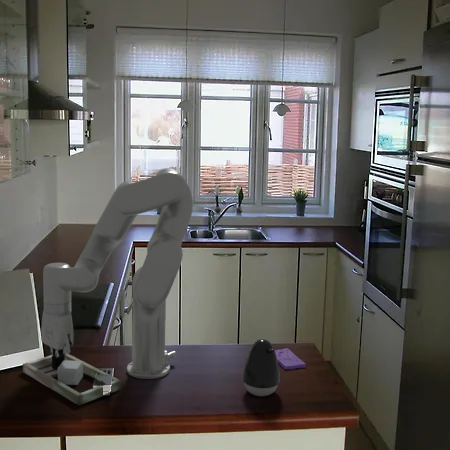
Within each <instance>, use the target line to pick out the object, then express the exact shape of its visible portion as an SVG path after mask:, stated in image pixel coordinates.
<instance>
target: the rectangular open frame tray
mask: <svg viewBox="0 0 450 450" xmlns="http://www.w3.org/2000/svg"><path fill="white" fill-rule="evenodd" d="M52 356H53V355H51V354H50V355H48V356H45V357H41V358H38V359H35V360H30V361H28V362H25V363H22V373H24V374H25V375H27V376H29V377H31V378H32V379H34V380H36V381H37V382H39V383H40V384H42V385H44V386H45V387H47V388H49V389H51V390H52V391H54V392H55V393H58V395H60V396H62V397H64V398H65V399H68V400H69V401H71V402H73V403H74V404H76V405H78V406H82V405H83V404H86V403H88V402H92V401H94V400H97V399H99V398H101V397H104V396H103V387H98V386H96V387H93V388H91V389H88V390H85V391H83V392H78V391H77V390H76V389H74V388H71V387H70V386H69V385H65V384H63V383H61V382H59V381H58V379H56V378H58V370H54V369H52ZM65 360H70V361H82V359H79V358H77V357H75V356H74V355H71V354H70V353H67V354H66V355H65ZM96 373H99V374H103V375H106V374H107V375H110V374H109V373H107V372H105V371H103V370H100V369H99V368H97V367H95V366H93V365H91V364H89V363H87V362H85V361H83V374H85V375H87V376H88V377H91V378H92V379H95V378H94V377H95V375H96ZM111 376H112V386H111V393H110V394H112V393H114V392H117V391H120V390H121V389H122V388H121V387H122V383H121V381H122V380H121V379H119V378H116V376H115V377H114V376H113V375H111Z"/></svg>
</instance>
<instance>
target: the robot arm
mask: <svg viewBox="0 0 450 450" xmlns="http://www.w3.org/2000/svg"><path fill="white" fill-rule="evenodd" d="M193 207H194V202H193V196H192V191H191V188H190V185H189V184H188V183H187V181H186V179H185V178H184V177H183V176H182V174H181V173H180V172H179V171H178V170H177V169H174V168H170V167H169V168H168V167H166V168H163V169H161V170H159V171H158V172H157V173H156V175H153V176H152V177H148V178H145V179H142V180H139V181H138V180H137V181H135V182H134V181H129V180H128V181H124V182H121V183H120V184H119V185H118V186H117V187H116V188H115V191H114V192H113V194H112V195H111V197H110V199H109V201H108V203H107V205H106V206H105V208H104V210H103V212H102V214H101V216H100V217H99V219H98V221H97V222H96V223H95V226H94V228H93V230H92V234H91V235H90V237H89V239H88V241H87V243H86V245H85V246H84V248H83V250H82V252H81V254H80V256H79V257H78V259H77V261H76V263H75V265H74V266H73V267H71V266H70V264H68V263H65V262H51V263H48V264H46V265H45V266H44V267H43V269H42V270H43V271H42V272H43V273H42V278H43V280H42V283H43V285H42V286H43V288H42V289H43V311H42V315H41V316H42V317H41V328H40V329H41V330H40V331H41V332H40V337H41V342H42V343H43V344H45V345H46V346H48V347H49V348H50V356H51V355H53V356H52V369H54V370H53V371H55V370H58V369H57V368H58V367H59V366H60V365H61V363H62V362H63V361H64V360H65V355H66V354H70V353H71V348H72V347H73V345H74V326H73V325H74V324H73V318H72V292H77V293H89V292H91V291H93V290H95V288H96V287H97V286H98V284H99V279H100V274H101V272H102V270H103V268H104V267H105V265H106V263H107V261H108V259H109V258H110V256H111V254H112V253H113V251H114V250H115V249H116V248H117V247H118V246H120V245H121V244H122V242H123V240H124V239H125V237H126V235H127V233H128V232H129V230H130V228H131V226H132V224H133V223H134V221H135V218H137V216H138V215H140V214H144V213H147V212H151V211H153V210H157V209H159V208H161V212H160V214H159V217H158V220H157V221H156V222H157V223H156V225H155V228H154V230H153V232H152V235H151V237H150V239H149V240H148V243H147V247H146V253H147V254H146V256H145V259H144V261H143V264H142V266H141V267H139V268H138V269H137V270H136V271H135V273H134V275H133V277H132V281H131V283H132V285H131V286H132V329H131V330H132V340H131V341H132V343H131V344H132V346H131V347H132V350H131V354H132V355H131V357H132V358H131V360H132V361H131V362H130V363H128V364H127V366H126V372H127V375H129V376H131V377H133V378H136V379H140V380H141V379H142V380H153V379H160V378H162V377H165V376H166V375H168V374H169V372H171V371H170V370H171V366H170V363H168V362H169V361H170V360H172V359H175V358H176V357H177V354H178V353H177V352H176V351H175V350H173V351H171V352H168V351H167V350H166V316H167V309H166V308H167V307H166V306H167V305H166V304H167V301H166V300H167V298H168V296H169V294H170V292H171V289H172V287H173V285H174V283H175V280H176V277H177V275H178V272H179V269H180V268H181V264H182V260H183V255H184V254H183V247H182V244H183V240H184V237H185V235H186V232H187V229H188V226H189V224H190V221H191V218H192V214H193V209H194V208H193Z"/></svg>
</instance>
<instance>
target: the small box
mask: <svg viewBox="0 0 450 450" xmlns="http://www.w3.org/2000/svg"><path fill="white" fill-rule="evenodd" d="M83 362H84V360H81V361H70V360H64V361H63V362H62V363H61V365H60V366H59V367H58V368H57V369H58V376H57V380H58V381H59V382H61V383H63V384H65V385H66V386H78V385H79V384H80V382H81V380H82V379H83V377H84V373H83Z"/></svg>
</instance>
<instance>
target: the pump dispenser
mask: <svg viewBox="0 0 450 450" xmlns="http://www.w3.org/2000/svg"><path fill="white" fill-rule="evenodd" d="M275 350H276V349H275V348H274V346H273V344H272V343H271V342H270V341H269V340H268V339H265V338H260V339H257V340H256V341H255V342H254V343H253V344H252V346H251V347H250V349H249V351H248V353H247V356H246V359H245V363H244V367H243V371H242V381H243V384H244V387H245V389H246V391H247V392H249V393H250V394H251V395H253V396H256V397H268V396H270V395H271V394H273V393H274V392H275V391H276V390H277V389H278V385H279V384H280V380H281V375H280V365H279V364H278V360H277V356H276V353H275Z"/></svg>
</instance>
